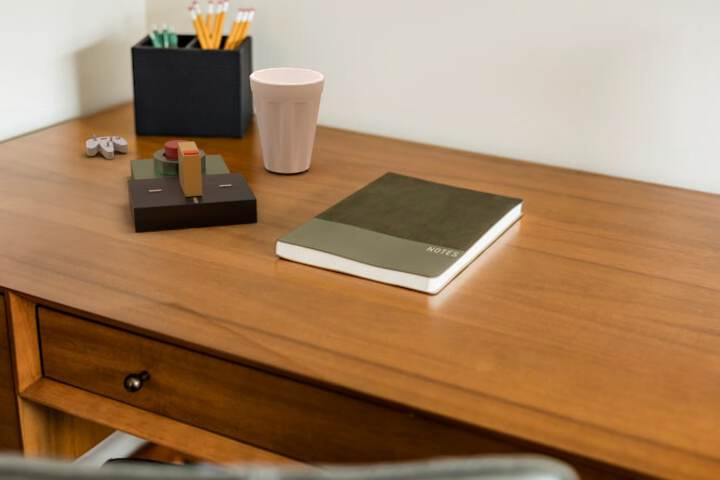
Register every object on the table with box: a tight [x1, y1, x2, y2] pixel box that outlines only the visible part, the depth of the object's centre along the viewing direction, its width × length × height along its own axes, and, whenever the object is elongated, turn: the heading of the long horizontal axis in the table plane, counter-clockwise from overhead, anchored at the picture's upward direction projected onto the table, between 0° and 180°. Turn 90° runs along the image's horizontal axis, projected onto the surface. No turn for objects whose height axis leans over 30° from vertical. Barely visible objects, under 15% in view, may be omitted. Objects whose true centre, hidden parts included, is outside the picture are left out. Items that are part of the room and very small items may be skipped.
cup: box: [249, 67, 326, 174], centre depth 122 cm, size 10×10×13 cm
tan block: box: [178, 141, 202, 197], centre depth 106 cm, size 6×2×5 cm, turn 17°
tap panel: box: [127, 172, 258, 233], centre depth 108 cm, size 14×10×3 cm
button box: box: [129, 148, 231, 180], centre depth 117 cm, size 12×9×4 cm
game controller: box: [85, 133, 129, 160], centre depth 130 cm, size 6×12×3 cm, turn 45°
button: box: [164, 139, 191, 159], centre depth 116 cm, size 4×4×2 cm
